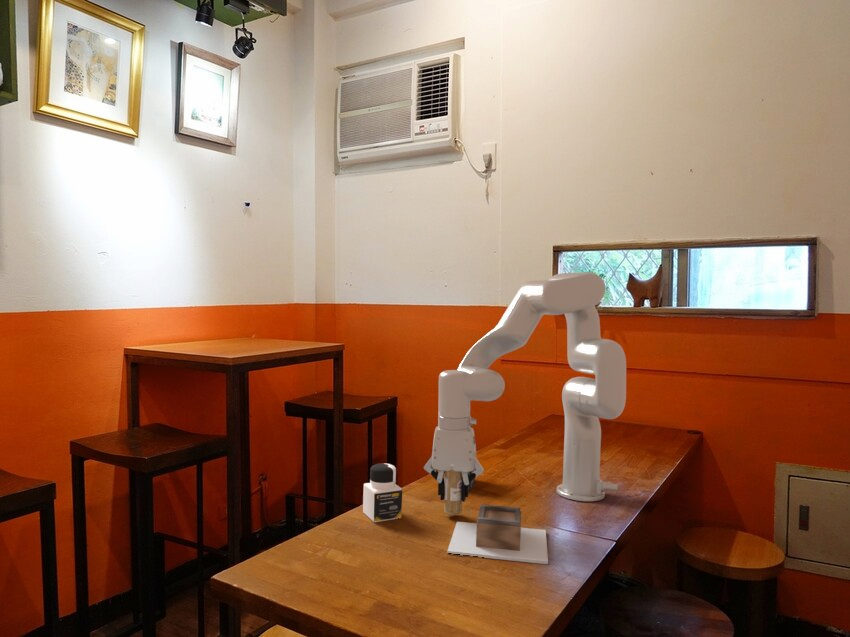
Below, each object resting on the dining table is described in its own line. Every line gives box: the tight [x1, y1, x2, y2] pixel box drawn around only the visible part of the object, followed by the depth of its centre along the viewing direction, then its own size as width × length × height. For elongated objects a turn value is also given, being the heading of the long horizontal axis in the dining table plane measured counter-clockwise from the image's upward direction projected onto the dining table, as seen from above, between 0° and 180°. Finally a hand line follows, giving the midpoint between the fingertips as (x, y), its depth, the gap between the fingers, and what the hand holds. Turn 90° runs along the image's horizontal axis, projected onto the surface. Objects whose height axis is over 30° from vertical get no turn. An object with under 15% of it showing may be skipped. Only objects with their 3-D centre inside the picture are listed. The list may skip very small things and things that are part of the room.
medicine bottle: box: [362, 462, 403, 523], centre depth 138 cm, size 7×7×12 cm
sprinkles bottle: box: [443, 464, 463, 516], centre depth 138 cm, size 5×5×14 cm
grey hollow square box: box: [476, 503, 522, 551], centre depth 124 cm, size 9×9×6 cm
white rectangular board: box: [446, 521, 549, 565], centre depth 124 cm, size 20×16×1 cm
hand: (453, 498), depth 138 cm, fingers closed on sprinkles bottle, 4 cm apart
